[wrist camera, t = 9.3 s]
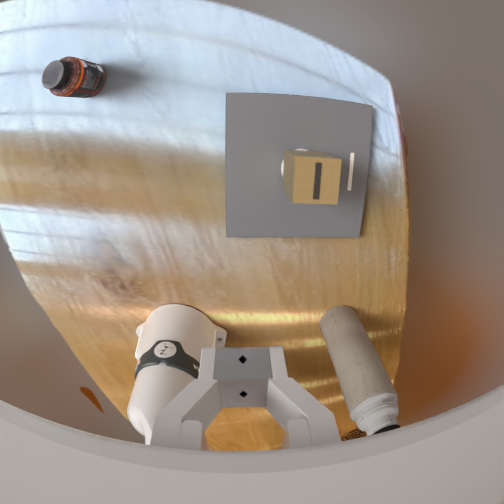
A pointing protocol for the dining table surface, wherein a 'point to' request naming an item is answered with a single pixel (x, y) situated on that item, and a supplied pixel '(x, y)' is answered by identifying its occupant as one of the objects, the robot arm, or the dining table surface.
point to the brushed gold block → (311, 177)
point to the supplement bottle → (73, 78)
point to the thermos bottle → (360, 372)
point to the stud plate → (272, 159)
